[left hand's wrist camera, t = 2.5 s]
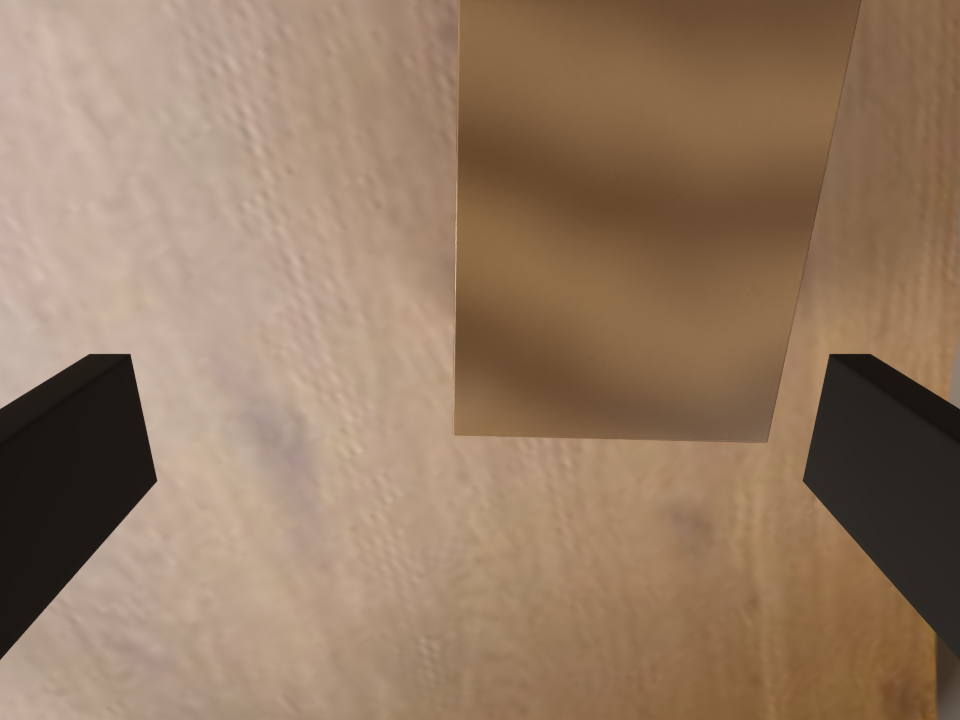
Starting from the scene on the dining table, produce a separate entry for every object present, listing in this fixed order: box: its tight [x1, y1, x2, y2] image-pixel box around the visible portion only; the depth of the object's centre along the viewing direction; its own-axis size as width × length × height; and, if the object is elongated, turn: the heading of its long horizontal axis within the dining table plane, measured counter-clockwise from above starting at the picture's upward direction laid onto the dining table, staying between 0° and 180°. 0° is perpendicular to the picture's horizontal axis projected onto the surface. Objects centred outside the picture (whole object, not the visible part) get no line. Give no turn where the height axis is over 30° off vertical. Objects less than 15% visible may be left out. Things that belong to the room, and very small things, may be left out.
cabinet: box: [453, 0, 861, 443], centre depth 24 cm, size 17×11×11 cm, turn 178°
